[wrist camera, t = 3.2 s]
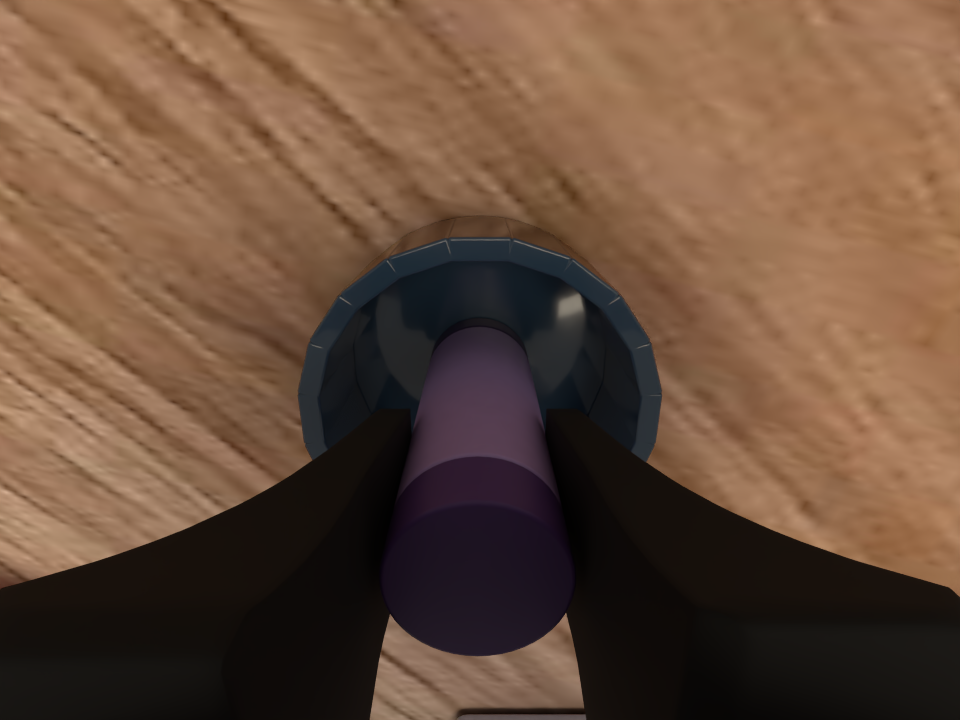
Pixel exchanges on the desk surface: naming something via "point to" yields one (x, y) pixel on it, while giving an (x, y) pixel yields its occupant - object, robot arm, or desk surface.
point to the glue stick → (478, 505)
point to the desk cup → (480, 294)
